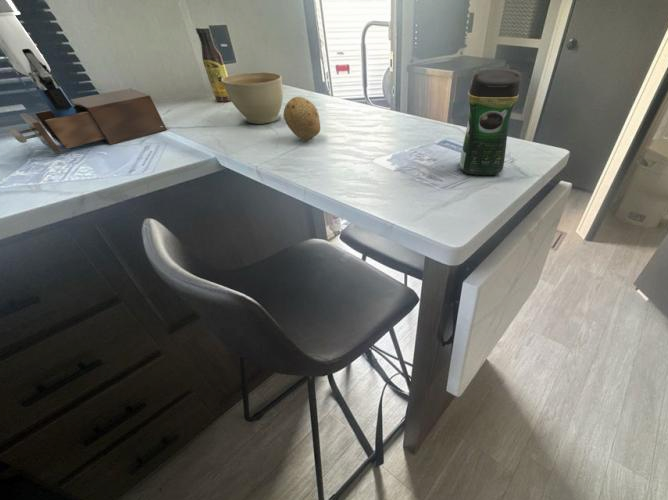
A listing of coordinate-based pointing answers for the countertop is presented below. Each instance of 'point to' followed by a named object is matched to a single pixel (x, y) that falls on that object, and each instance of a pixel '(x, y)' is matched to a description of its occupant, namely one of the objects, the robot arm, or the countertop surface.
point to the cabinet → (122, 114)
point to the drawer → (61, 129)
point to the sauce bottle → (213, 64)
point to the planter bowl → (256, 95)
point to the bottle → (55, 112)
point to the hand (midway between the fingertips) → (60, 105)
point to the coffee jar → (489, 120)
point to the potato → (302, 118)
